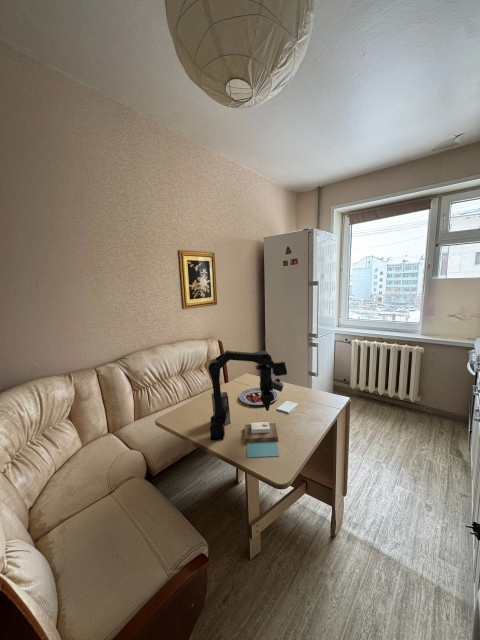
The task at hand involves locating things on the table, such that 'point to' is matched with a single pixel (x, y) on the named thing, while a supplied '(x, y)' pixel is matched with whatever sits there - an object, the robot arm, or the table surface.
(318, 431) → the table surface
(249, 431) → the brown flat block
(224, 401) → the coffee box
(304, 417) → the table surface
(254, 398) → the ceramic plate
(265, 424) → the white panel with tab
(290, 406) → the external hard drive
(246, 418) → the table surface
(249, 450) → the mat
